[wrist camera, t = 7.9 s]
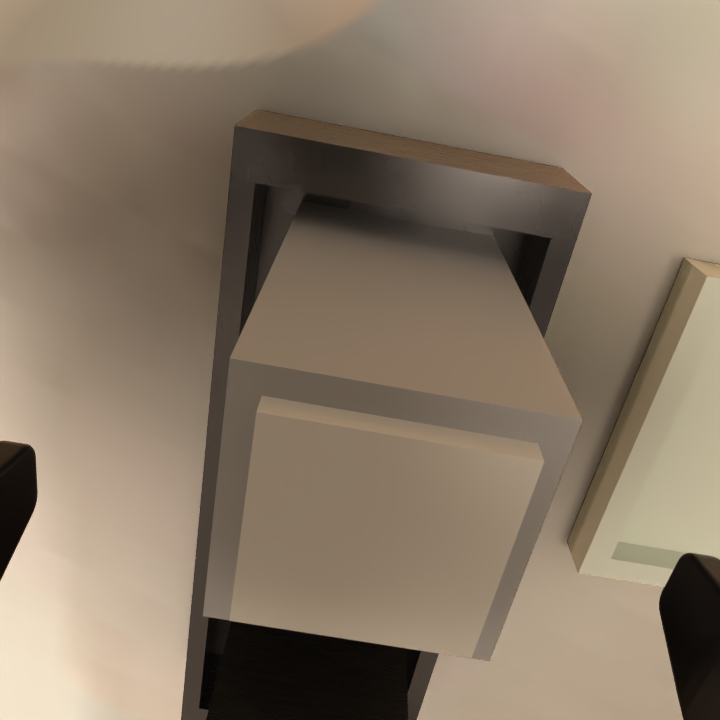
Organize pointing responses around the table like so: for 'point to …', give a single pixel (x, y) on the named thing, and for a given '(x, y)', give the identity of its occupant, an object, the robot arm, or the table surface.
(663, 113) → the table surface
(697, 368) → the tray
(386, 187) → the strip
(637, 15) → the table surface
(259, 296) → the plug
